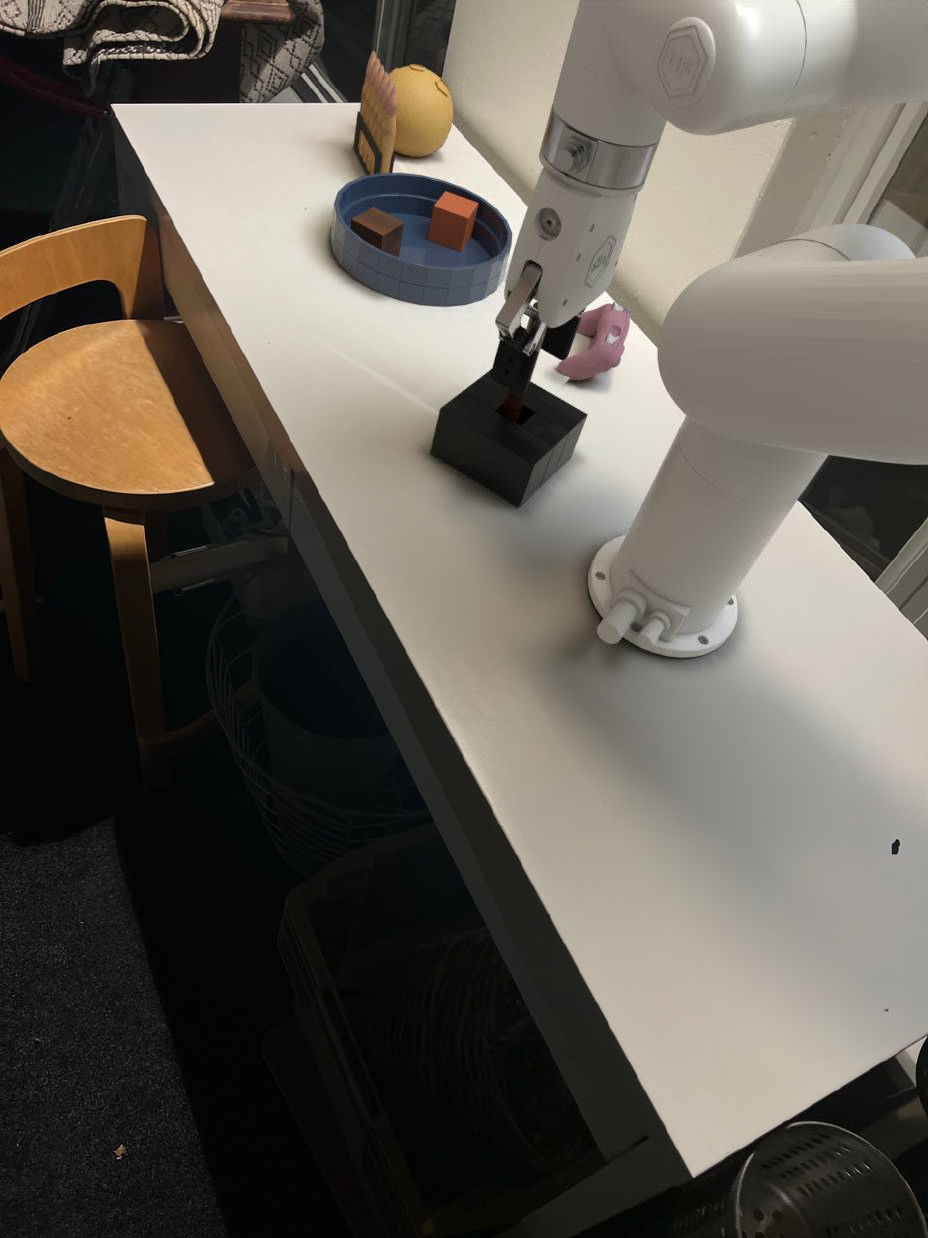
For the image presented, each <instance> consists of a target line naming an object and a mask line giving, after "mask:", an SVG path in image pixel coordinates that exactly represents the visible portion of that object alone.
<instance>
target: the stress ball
mask: <svg viewBox="0 0 928 1238" xmlns="http://www.w3.org/2000/svg"><path fill="white" fill-rule="evenodd" d="M387 74H388V78H389V79H391V80H392V84H393V87H394V86H395V87H396V90H397V113H396V134H395V141H394V148H393V151H394V153H397V154H399V155H402V156H404V157H410V158H420V157H421V158H422V157H425V156H428V155H430V154H432V153H434V152H436V151H439V150H440V149H441V148H442V147H443V146H444V144H445V143H446V142H447V140H448V136H449V134H450V132H451V129H452V126H453V122H454V105H453V100H452V97H451V90H450V86H449V85H448V84H447V82H445V80H443V78H442V77H439V76H438V75H437V74H436V73H435V72H433V71H432V70H430V69H428V68H426V67H425V66H424V65H421V64H415V63H413V64H409V65H407V66H402V67H399V68H398V67H396V68H395V69H392V70H391V71H389V72H387Z"/></svg>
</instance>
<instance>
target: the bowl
mask: <svg viewBox="0 0 928 1238" xmlns="http://www.w3.org/2000/svg"><path fill="white" fill-rule="evenodd" d="M445 191H446V192H449V193H452V194H454V195H457V196H460V197H463V198H465V199H468V200H471V201H474V202H476V203H479V204H478V209H477V213H476V218H475V222H474V227H473V231H472V236H471V238H470V239H469V241H468V242H467V244H466V245H465V246H464V248H463V249H462V251H461V252H460V251H457V250H455V249H452V248H449V247H446V246H444V245H441V244H438V243H435V242H433V241H430V240H428V236H429V230H430V225H431V220H432V214H433V209H434V205H435V204H436V203H437V201H438V200H439V199H440V198H441V196H442V195H443V194H444V192H445ZM372 207H375V208H377V209H379V210H381V211H383V212H384V213H386V214H388V215H390V216H392V217H394V218H396V219H398V220H400V221H402V222H404V229H403V235H402V241H401V247H400V254H399V257H396V256H394V255H391V254H388V253H386V252H383V251H381V250H380V249H378V248H376V247H374V246H373V245H371V244H369V243H367V242H365V241H364V240H363V239H361V238H360V237H359V236H358V235H357V234H356V233H354V232H353V231H352V230H351V229H350V227H351V219H352V218H354V217H356V216H358V215H359V214H361V213H363V212H365V211H367V210H369V209H370V208H372ZM331 220H332V221H331V231H330V245H331V251H332V254H333V256H334V258H335V259H336V261H337V263H338V264H339V265H340V267H341V268H342V269H343V270H344V271H346V272H347V273H348V274H349V275H350V276H351V277H352V278H353V279H355V280H356V281H358V282H360V283H361V284H363V285H364V286H365V287H368V288H370V289H372V290H373V291H375V292H377V293H380V294H382V295H385V296H387V297H390V298H392V299H396V300H399V301H402V302H403V301H404V302H408V303H413V304H418V305H422V306H425V305H426V306H437V307H438V306H439V307H452V306H463V305H465V306H466V305H469V304H471V303H475V302H478V301H481V300H485V298H487V297H489V296H490V295H491V294H493V293H495V292H496V291H497V290H498V288H499V287H500V285H501V283H502V281H503V279H504V276H505V272H506V268H507V264H508V261H509V257H510V254H511V250H512V246H513V231H512V229H511V227H510V226H511V225H510V224H509V221H508V220H507V219H506V217H505V216H504V215H503V213H501V211H500V210H499V209H498V208H497V207H495V206H494V205H493V204H492V203H490V202H489V201H488V200H486V199H485V198H484V197H482V196H480V195H479V194H476V193H475V192H473V191H471V190H469V189H467V188H465V187H462V186H460V185H457V184H455V183H452V182H449V181H447V180H443V179H440V178H436V177H432V176H427V175H423V174H416V173H408V172H393V173H377V174H372V175H367V174H366V175H363V176H360V177H357V178H355V179H353V180H351V181H349V182H347V183H345V184H344V185H343V186H342V187H341V188H340V189H339V190H338V191H337V193H336V196H335V199H334V202H333V210H332V219H331Z"/></svg>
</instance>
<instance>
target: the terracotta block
mask: <svg viewBox="0 0 928 1238" xmlns="http://www.w3.org/2000/svg"><path fill="white" fill-rule="evenodd" d="M478 204H479V203H476V202H474V201H471V200H468V199H465V198H463V197H460V196H457V195H454V194H452V193H449V192H446V191H445V192H444V194H443V195H442V196H441V198H440V199H439V200H438V201H437V203H436V204H435V205H434V209H433V214H432V220H431V225H430V230H429V236H428V240H430V241H433V242H435V243H438V244H441V245H444V246H446V247H449V248H452V249H455V250H457V251H460V252H461V251H462V249H463V248H464V246H465V245H466V244H467V242H468V241H469V239H470V238H471V236H472V231H473V227H474V222H475V218H476V213H477V209H478Z"/></svg>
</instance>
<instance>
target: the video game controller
mask: <svg viewBox="0 0 928 1238" xmlns="http://www.w3.org/2000/svg"><path fill="white" fill-rule="evenodd" d="M576 316H577V317H579V318H581V321H580V324H579V327H578V329H577V332H576V333H579V334H580V335H583V336H589V337H591V336H593V338H591V340H590V341H589V342H588V343H589V344H588V348H587V350H585V351H581V352H579V353H577V354H573V355H571V356H568V357H567V358H566V359H565V360H560V362H559V363H558V364H557V367H556V371H557V372H558V373H560V374H561V375H564V376H566V377H569V378H568V380H569V381H581V380H586V379H588V378H591V377H593V376H597V375H599V374H601V373H602V374H603V373H606V372H608V371H610V370H611V369H615V368H617V367H618V366H620V364H621V362H622V356H623V354H624V352H625V349H626V347H625V341H626V340H627V336H628V334H629V329H630V325H631V314H630V313H629V311H628V310H627V309H626V308H624V307H623V306H622V305H617V303H616V301H614V302H612V303H605V304H603V305H600V306H599V307H596V308H594V309H590V310H587V311H584V312H583V314H582V315H581V316H579V315H576Z"/></svg>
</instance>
